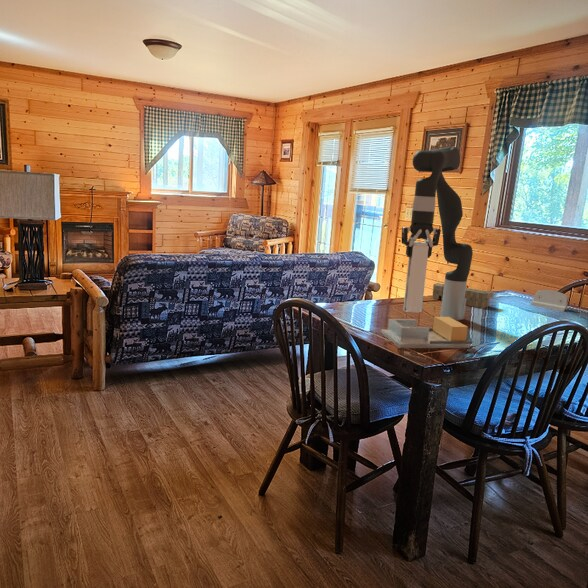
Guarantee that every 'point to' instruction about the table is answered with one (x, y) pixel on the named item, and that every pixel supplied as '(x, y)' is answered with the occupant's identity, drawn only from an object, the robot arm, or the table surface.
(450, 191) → the robot arm
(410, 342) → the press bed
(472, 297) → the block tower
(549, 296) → the hinge
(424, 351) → the table surface
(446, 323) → the block
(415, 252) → the air filter
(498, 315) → the table surface
